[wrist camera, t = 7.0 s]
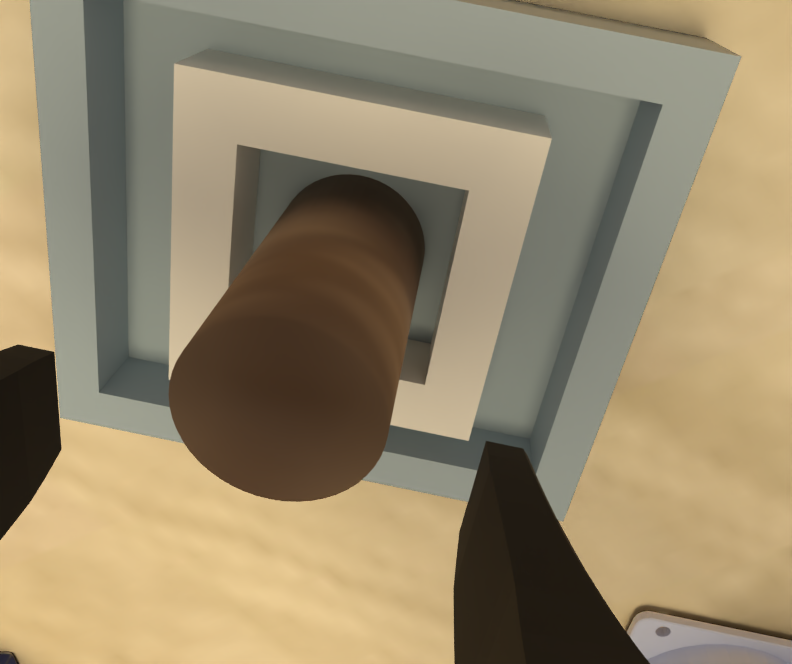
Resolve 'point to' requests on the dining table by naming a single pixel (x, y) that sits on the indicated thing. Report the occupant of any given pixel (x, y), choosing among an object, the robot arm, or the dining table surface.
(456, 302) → the socket block
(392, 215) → the walnut peg
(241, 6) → the tray
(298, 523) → the dining table surface
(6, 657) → the supplement box
